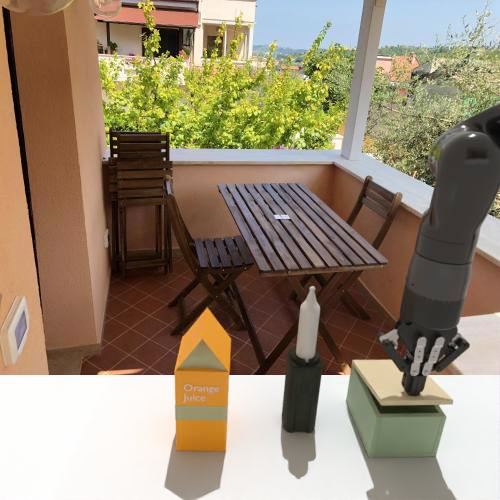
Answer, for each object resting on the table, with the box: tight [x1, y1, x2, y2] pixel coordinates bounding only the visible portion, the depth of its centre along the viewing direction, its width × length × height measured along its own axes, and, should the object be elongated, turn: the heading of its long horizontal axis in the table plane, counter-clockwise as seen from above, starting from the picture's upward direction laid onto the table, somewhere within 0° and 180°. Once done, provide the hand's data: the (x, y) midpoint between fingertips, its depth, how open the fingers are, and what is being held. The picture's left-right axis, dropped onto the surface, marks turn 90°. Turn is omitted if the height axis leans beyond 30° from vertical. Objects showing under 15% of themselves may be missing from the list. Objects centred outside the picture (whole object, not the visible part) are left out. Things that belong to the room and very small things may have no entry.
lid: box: [351, 359, 454, 406], centre depth 67 cm, size 13×11×1 cm
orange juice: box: [173, 307, 232, 452], centre depth 65 cm, size 8×9×20 cm
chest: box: [345, 364, 447, 459], centre depth 70 cm, size 13×11×8 cm
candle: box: [281, 285, 324, 434], centre depth 67 cm, size 5×5×25 cm
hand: (411, 391), depth 63 cm, fingers closed
